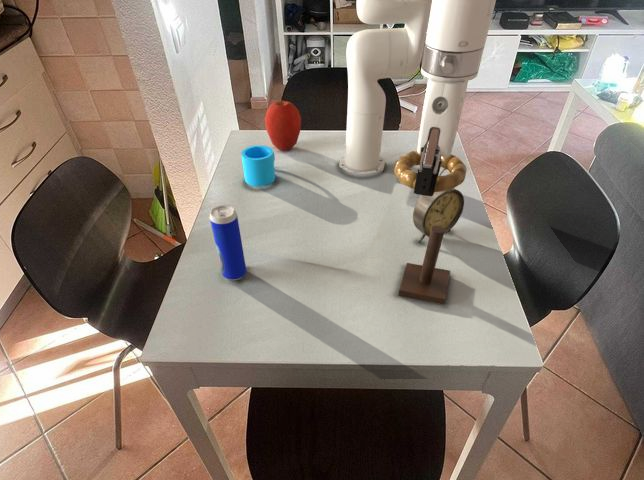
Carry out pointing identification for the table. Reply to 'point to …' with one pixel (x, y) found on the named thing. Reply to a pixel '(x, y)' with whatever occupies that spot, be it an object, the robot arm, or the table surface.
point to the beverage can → (228, 241)
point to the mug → (258, 165)
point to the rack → (427, 274)
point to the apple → (283, 124)
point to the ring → (443, 182)
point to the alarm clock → (438, 211)
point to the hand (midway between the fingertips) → (425, 188)
